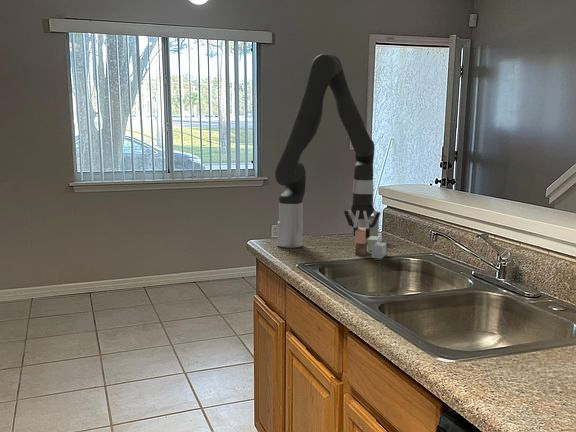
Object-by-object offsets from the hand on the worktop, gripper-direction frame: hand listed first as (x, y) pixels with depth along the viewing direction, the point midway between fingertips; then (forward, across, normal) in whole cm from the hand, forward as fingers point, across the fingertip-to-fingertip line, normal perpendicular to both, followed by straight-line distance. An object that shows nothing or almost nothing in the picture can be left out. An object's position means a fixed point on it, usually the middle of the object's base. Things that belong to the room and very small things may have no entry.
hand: (361, 237), depth 207 cm
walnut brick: (+6, 0, 0) cm, 6 cm away
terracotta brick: (+1, 0, 0) cm, 1 cm away
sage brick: (+6, +3, +9) cm, 11 cm away
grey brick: (+6, +7, -2) cm, 10 cm away
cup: (+6, -2, +23) cm, 24 cm away
